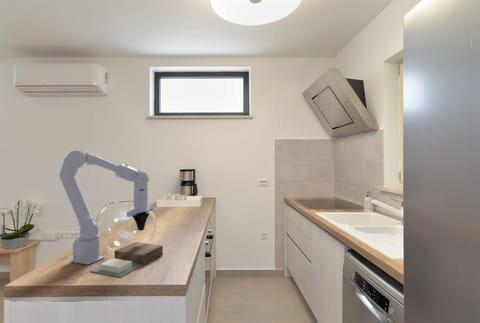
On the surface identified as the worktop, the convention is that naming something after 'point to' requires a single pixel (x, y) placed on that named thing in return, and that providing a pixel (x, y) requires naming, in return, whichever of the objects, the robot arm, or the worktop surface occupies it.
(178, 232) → the worktop surface
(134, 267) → the mat
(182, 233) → the worktop surface
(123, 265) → the light grey flat block
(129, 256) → the brown flat wooden block
